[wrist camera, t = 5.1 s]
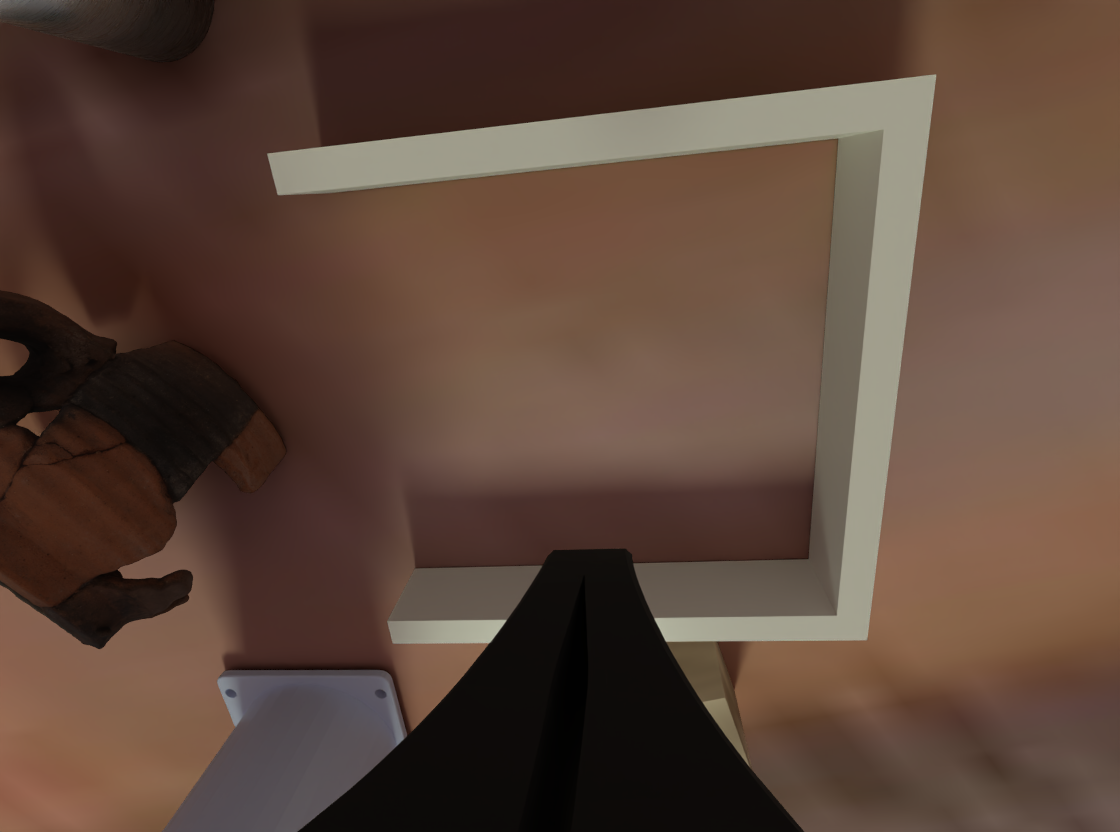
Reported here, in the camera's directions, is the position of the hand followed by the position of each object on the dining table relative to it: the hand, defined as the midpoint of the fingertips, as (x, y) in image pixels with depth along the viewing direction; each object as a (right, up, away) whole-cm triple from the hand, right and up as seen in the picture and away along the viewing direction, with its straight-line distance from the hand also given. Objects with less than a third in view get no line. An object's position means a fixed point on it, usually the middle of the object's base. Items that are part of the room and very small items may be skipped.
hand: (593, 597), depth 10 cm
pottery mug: (-16, +3, +12) cm, 20 cm away
